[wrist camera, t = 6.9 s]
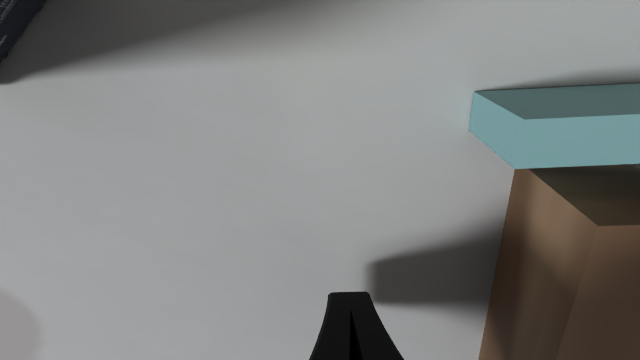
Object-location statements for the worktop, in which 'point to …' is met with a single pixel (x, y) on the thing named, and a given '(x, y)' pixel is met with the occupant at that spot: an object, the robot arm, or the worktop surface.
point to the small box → (15, 20)
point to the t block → (568, 267)
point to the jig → (560, 125)
